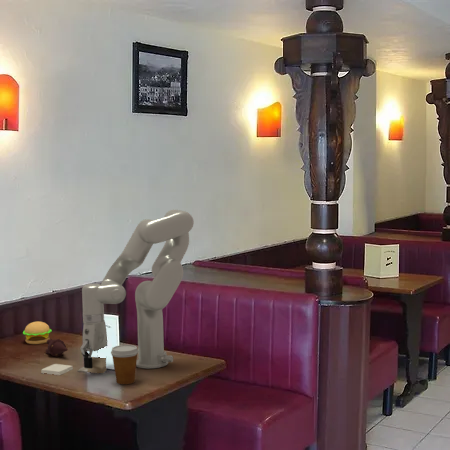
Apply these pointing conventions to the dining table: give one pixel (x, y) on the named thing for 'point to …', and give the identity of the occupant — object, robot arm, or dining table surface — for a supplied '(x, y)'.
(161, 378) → the dining table surface
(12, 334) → the dining table surface
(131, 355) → the disposable coffee cup
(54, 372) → the tile
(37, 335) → the hamburger
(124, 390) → the dining table surface
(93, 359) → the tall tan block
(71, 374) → the dining table surface
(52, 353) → the icecream
